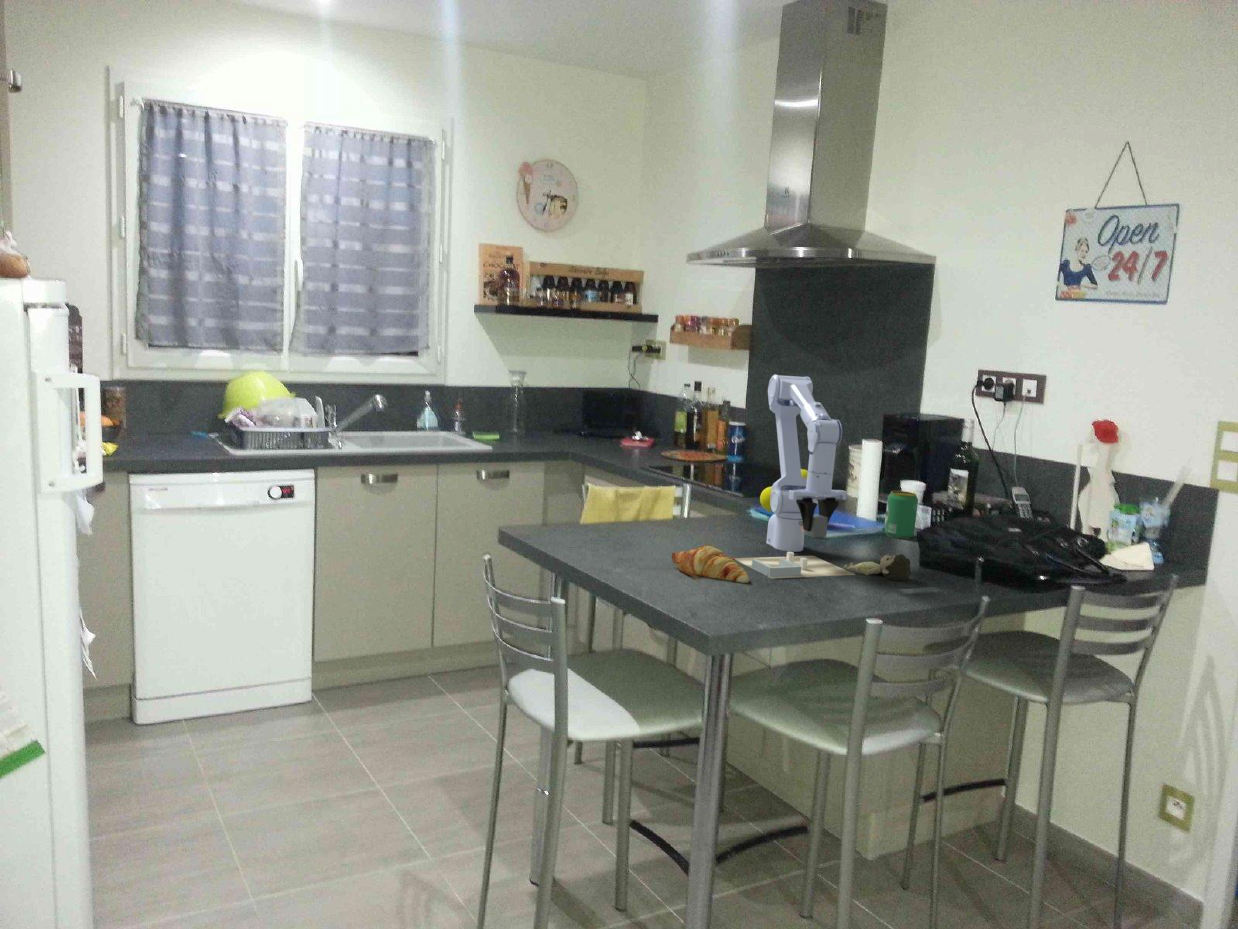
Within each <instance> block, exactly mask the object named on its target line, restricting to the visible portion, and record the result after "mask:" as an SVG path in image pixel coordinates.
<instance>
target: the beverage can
mask: <svg viewBox="0 0 1238 929" xmlns="http://www.w3.org/2000/svg"><path fill="white" fill-rule="evenodd" d="M918 504H919V499H918V496H917V493H914V492H912V491H904V490H891V491H890V493H889V495H888V496H887V501H886V510H885V517H884V518H885V519H884V527H885V531H884V530H883V531H884V535H885V534H886V535H887V537H890V538H892V537H897V538H896V539H898V538H905V539H904V540H910V539H909V538H911V537H912V538H913V536H914V535H915V530H916V528H915V527H916V522H917V521H916V520H917V512H918ZM886 535H885V536H886ZM906 538H907V539H906ZM912 538H911V539H912Z"/></svg>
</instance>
